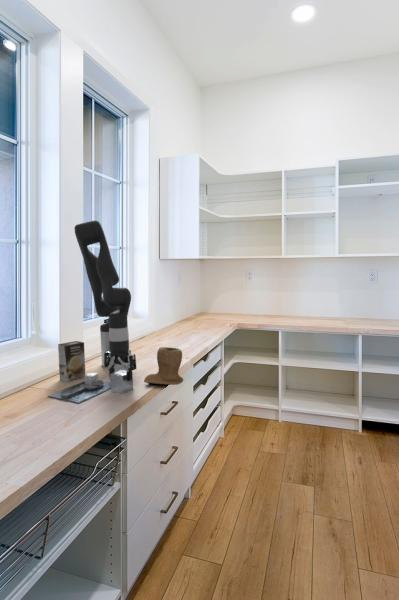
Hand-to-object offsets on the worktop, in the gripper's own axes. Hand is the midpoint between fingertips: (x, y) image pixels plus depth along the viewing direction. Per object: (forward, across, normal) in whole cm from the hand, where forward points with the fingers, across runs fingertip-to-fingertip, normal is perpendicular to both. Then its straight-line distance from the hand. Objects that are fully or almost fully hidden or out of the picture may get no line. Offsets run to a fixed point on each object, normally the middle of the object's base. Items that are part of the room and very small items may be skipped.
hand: (120, 379), depth 146 cm
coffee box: (+5, +29, -2) cm, 29 cm away
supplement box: (+5, +11, -14) cm, 19 cm away
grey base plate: (+5, +13, +7) cm, 15 cm away
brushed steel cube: (+5, 0, 0) cm, 5 cm away
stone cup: (+5, -11, -16) cm, 20 cm away
